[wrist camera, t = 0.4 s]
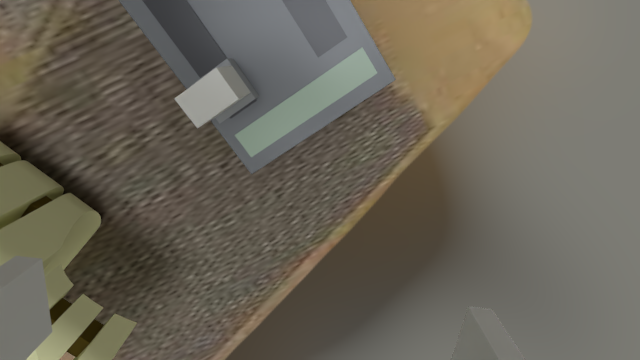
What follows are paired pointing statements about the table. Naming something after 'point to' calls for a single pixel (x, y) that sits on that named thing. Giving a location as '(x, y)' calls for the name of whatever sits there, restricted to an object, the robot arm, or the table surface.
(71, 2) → the table surface
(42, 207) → the slatted curved stool
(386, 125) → the table surface
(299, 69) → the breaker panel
